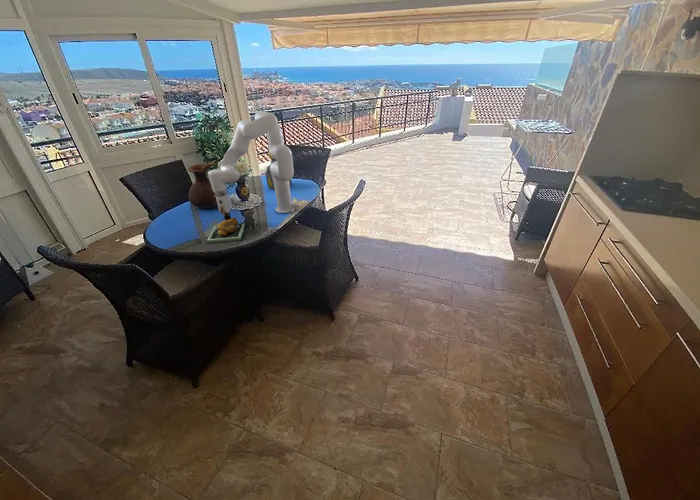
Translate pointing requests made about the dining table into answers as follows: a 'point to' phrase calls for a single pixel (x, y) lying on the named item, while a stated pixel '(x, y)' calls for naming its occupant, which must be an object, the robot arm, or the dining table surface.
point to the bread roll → (227, 227)
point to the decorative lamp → (269, 176)
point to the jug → (202, 187)
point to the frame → (224, 238)
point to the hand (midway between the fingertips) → (228, 221)
